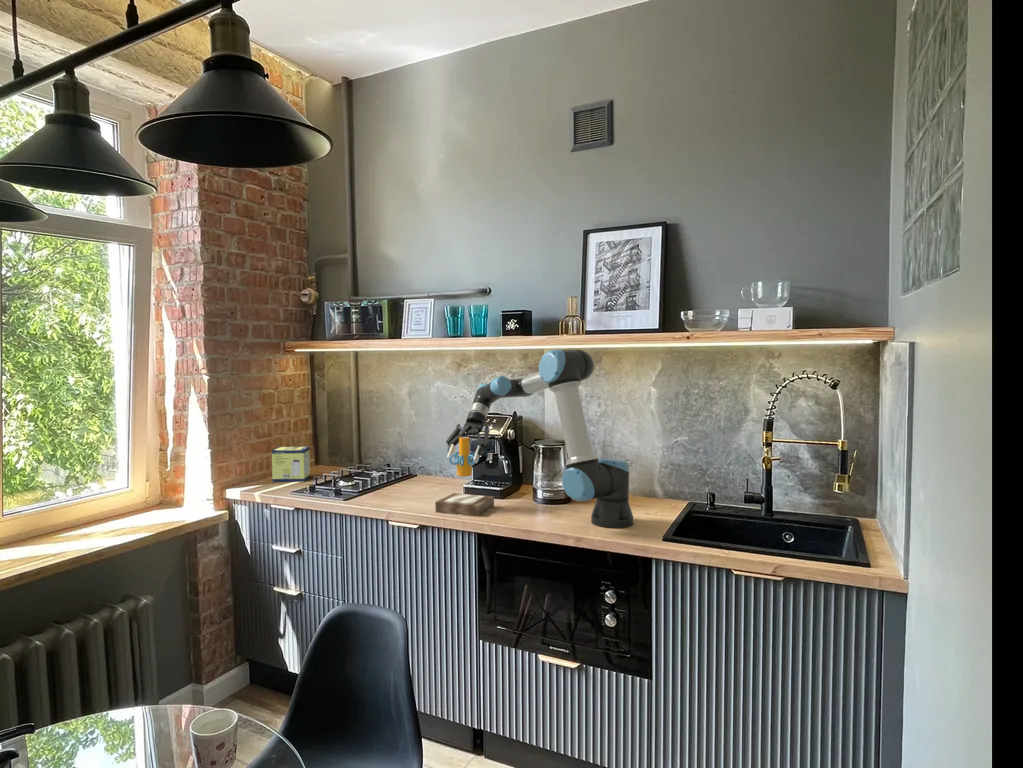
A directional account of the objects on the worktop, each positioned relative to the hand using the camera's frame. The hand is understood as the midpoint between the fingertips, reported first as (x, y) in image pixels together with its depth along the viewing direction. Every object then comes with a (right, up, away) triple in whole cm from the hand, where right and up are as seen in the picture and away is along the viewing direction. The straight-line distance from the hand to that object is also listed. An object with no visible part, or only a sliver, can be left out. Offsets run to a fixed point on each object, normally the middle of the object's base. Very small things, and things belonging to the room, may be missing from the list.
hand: (461, 460), depth 237 cm
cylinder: (+1, -6, +3) cm, 7 cm away
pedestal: (+1, -20, +3) cm, 20 cm away
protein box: (-88, -17, +60) cm, 108 cm away
